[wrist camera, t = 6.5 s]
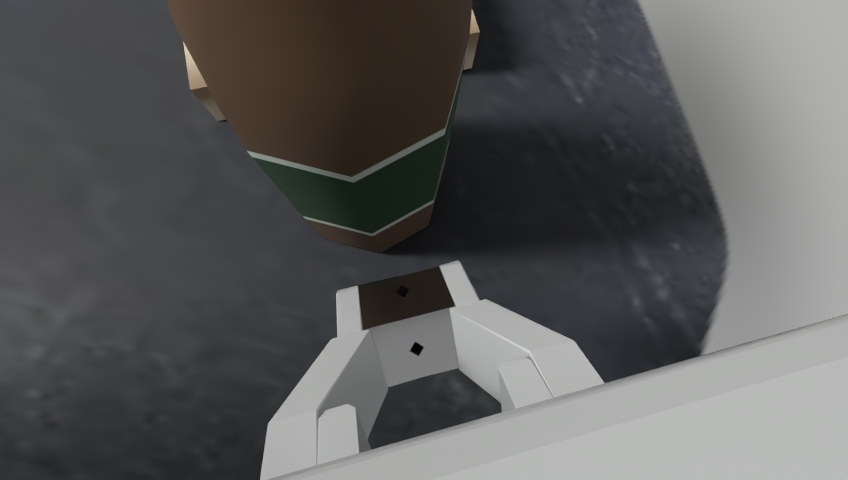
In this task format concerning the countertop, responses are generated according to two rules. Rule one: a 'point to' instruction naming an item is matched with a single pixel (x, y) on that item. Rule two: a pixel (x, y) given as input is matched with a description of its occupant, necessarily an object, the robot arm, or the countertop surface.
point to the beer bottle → (338, 102)
